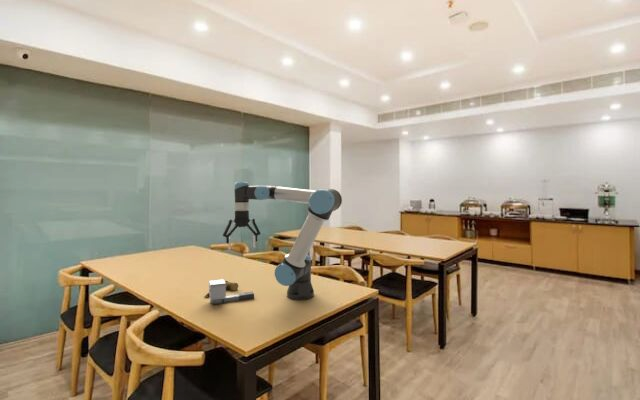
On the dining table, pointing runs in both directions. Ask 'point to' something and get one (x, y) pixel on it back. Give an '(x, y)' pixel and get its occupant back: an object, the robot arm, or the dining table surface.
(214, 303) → the ratchet
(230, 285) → the gavel
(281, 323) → the dining table surface
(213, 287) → the brushed metal cube
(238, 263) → the dining table surface
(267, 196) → the robot arm
